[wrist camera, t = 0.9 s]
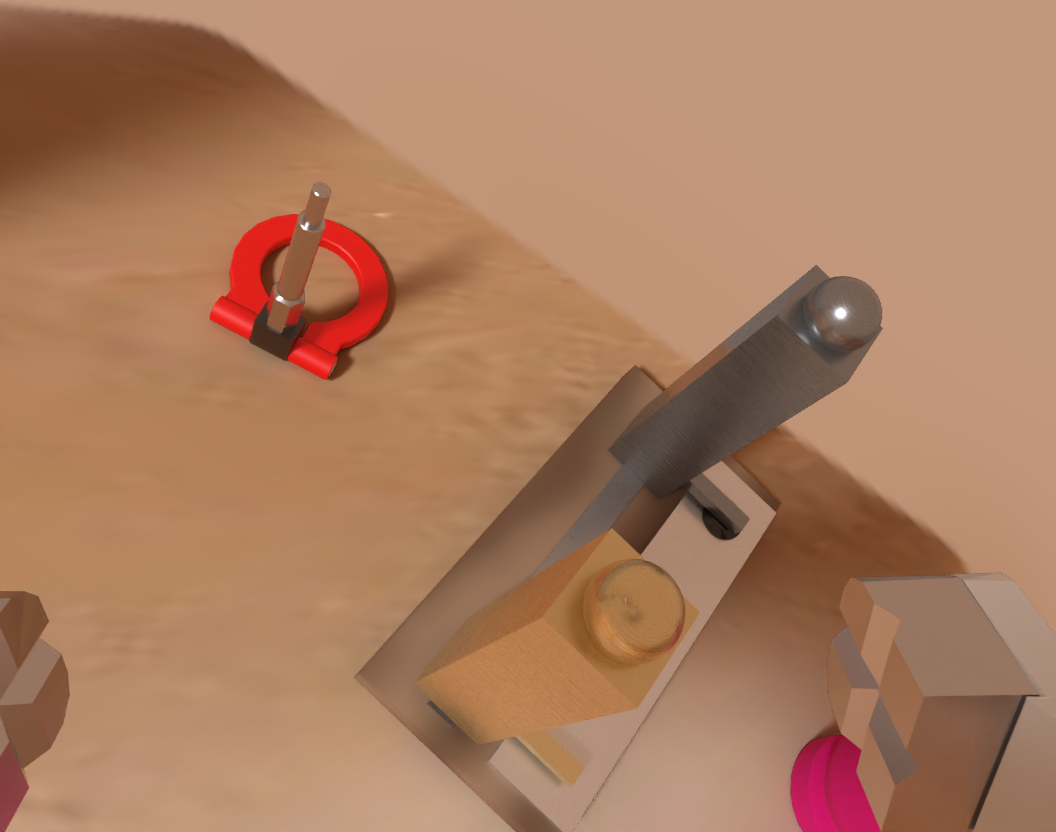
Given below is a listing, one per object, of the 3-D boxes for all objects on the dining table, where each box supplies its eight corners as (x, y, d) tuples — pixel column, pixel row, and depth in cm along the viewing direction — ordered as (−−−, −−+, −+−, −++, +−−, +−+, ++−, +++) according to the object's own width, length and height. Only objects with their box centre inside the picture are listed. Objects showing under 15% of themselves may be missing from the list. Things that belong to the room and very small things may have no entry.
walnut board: (354, 677, 41) (360, 672, 40) (623, 375, 54) (635, 365, 52) (540, 855, 41) (553, 856, 39) (765, 510, 54) (780, 503, 52)
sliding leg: (412, 683, 39) (571, 602, 25) (467, 618, 42) (644, 507, 27) (548, 814, 39) (790, 810, 25) (596, 742, 42) (845, 699, 27)
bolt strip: (426, 704, 40) (428, 703, 40) (665, 412, 52) (669, 409, 52) (565, 837, 40) (569, 837, 40) (773, 514, 52) (777, 512, 52)
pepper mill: (816, 699, 50) (1162, 637, 33) (908, 789, 50) (1301, 773, 33) (759, 806, 46) (1117, 797, 29) (858, 903, 46) (1275, 952, 29)
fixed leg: (607, 450, 49) (811, 287, 34) (644, 406, 51) (850, 236, 36) (717, 555, 49) (969, 438, 34) (749, 507, 51) (999, 378, 36)
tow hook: (274, 201, 50) (189, 317, 45) (319, 22, 39) (215, 147, 34) (406, 274, 51) (338, 395, 46) (483, 120, 41) (406, 254, 36)
